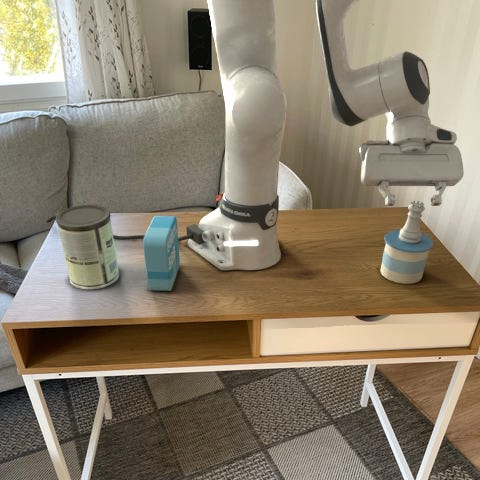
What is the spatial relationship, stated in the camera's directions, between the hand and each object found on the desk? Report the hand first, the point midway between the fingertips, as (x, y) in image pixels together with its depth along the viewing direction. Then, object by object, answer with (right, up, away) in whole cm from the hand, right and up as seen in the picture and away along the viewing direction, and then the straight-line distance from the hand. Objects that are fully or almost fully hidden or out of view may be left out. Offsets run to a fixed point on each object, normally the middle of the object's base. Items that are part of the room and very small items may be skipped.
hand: (413, 204), depth 101 cm
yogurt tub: (0, -13, +8) cm, 15 cm away
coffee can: (-66, -14, +5) cm, 67 cm away
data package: (-51, -15, +5) cm, 53 cm away
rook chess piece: (0, -7, +3) cm, 7 cm away
